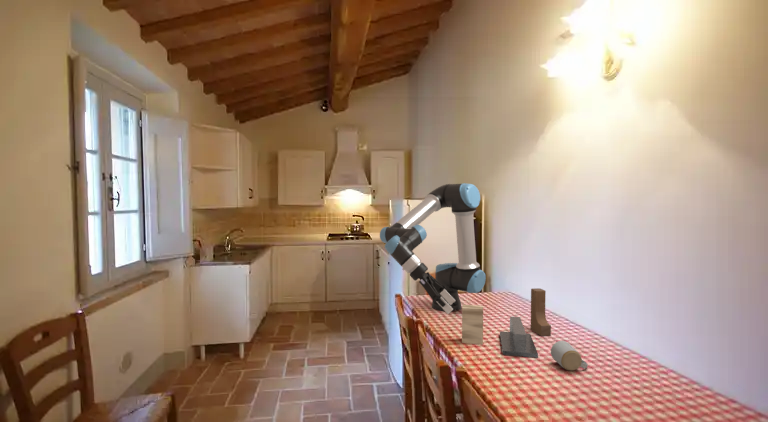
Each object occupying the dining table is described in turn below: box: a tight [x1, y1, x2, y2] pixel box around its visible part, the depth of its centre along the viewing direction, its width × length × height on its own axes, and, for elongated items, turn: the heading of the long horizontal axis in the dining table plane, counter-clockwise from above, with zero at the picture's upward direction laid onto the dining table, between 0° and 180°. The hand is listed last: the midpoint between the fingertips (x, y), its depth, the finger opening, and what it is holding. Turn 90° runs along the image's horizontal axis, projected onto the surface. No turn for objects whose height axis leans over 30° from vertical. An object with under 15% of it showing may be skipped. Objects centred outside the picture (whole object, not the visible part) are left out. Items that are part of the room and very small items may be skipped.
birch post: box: [461, 304, 484, 346], centre depth 156 cm, size 5×8×14 cm, turn 76°
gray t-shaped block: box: [499, 316, 539, 359], centre depth 152 cm, size 22×12×8 cm, turn 166°
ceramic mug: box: [550, 340, 589, 371], centre depth 133 cm, size 11×8×8 cm
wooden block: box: [530, 287, 552, 337], centre depth 167 cm, size 9×4×18 cm, turn 7°
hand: (452, 307), depth 157 cm, fingers open, 13 cm apart
